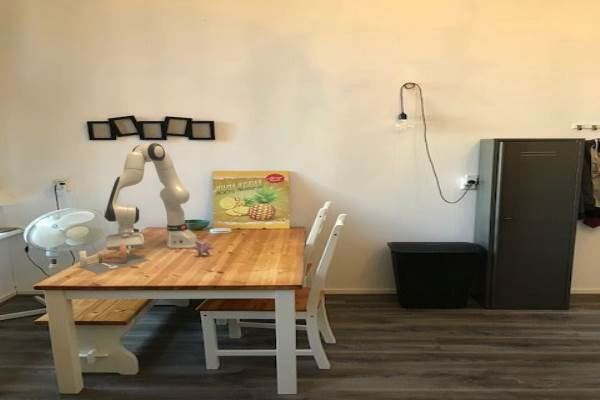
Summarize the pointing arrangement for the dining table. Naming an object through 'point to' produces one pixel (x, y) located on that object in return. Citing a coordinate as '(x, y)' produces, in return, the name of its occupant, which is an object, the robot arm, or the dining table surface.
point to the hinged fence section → (123, 255)
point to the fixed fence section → (84, 259)
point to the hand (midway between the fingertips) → (125, 254)
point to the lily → (202, 248)
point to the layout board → (113, 264)
